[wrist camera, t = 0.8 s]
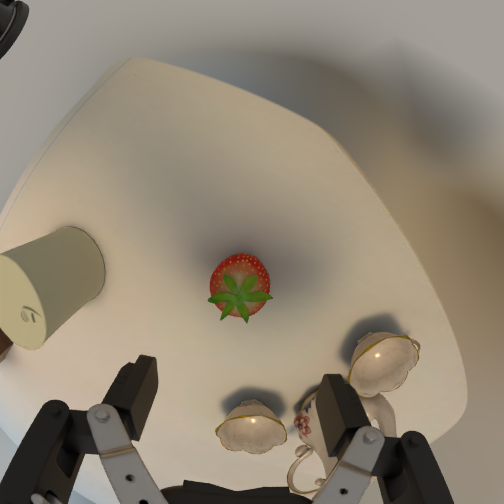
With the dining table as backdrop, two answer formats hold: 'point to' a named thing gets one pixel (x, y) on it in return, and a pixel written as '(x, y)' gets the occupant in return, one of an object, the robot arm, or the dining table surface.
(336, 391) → the robot arm
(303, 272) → the dining table surface
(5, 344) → the plinth
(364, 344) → the chinaware
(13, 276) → the can
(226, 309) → the fruit
